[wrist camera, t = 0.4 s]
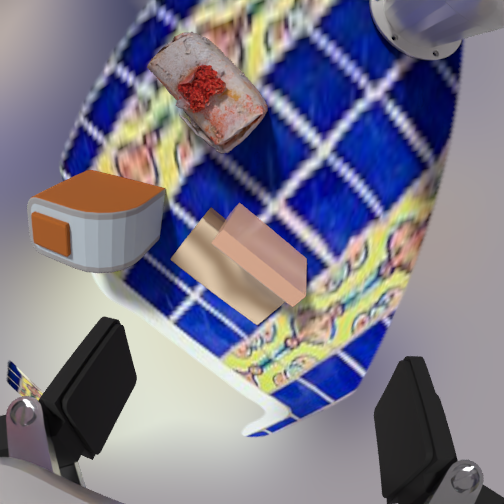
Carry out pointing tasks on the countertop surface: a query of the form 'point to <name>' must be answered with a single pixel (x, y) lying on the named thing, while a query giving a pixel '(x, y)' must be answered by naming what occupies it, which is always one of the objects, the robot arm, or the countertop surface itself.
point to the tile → (263, 254)
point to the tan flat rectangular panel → (224, 275)
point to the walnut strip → (214, 218)
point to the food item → (209, 90)
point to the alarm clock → (96, 221)
